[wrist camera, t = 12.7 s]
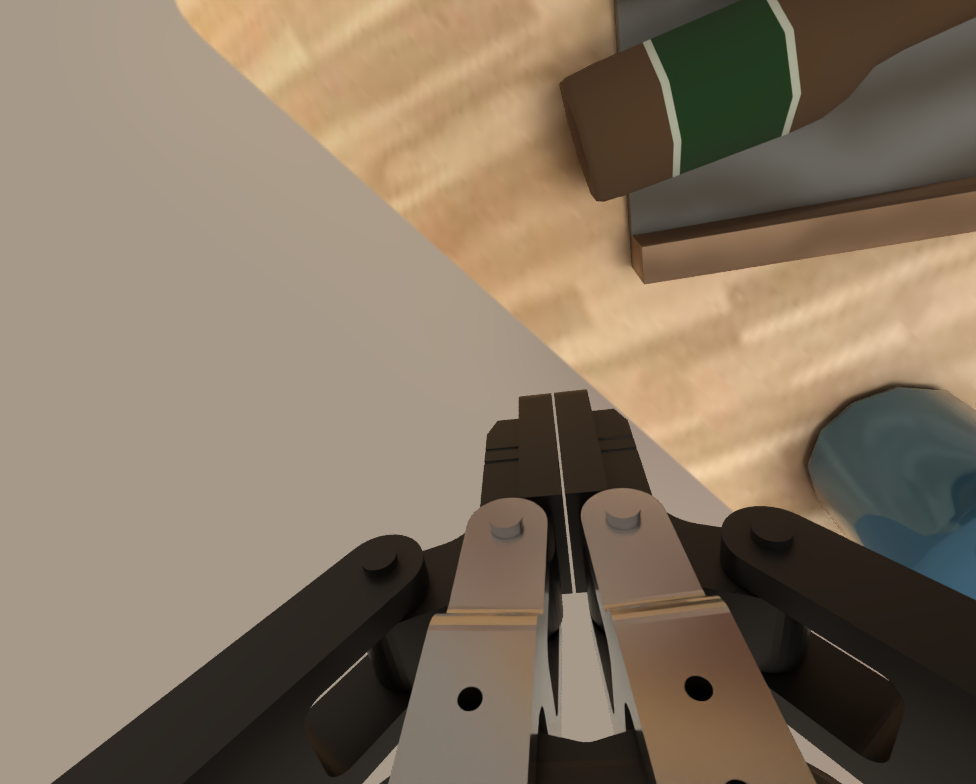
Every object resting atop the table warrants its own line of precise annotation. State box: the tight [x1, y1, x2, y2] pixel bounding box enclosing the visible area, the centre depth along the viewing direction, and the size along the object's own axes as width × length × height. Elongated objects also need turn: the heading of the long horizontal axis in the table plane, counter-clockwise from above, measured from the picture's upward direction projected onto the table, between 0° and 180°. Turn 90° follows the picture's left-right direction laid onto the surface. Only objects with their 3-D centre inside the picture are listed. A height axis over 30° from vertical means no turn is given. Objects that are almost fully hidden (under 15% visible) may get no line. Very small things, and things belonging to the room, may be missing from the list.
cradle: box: [614, 0, 976, 284], centre depth 33 cm, size 19×25×4 cm
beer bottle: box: [560, 0, 976, 202], centre depth 31 cm, size 8×8×24 cm
